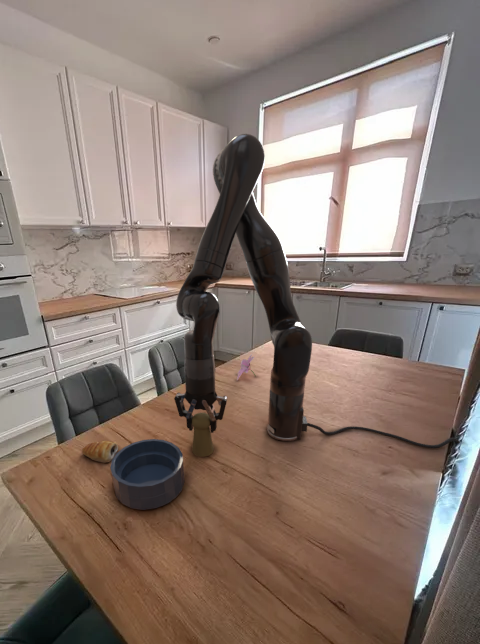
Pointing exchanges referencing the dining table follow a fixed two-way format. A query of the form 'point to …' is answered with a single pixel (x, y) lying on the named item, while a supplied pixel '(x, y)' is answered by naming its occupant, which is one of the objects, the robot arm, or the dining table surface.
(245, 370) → the lily
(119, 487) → the basin
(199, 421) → the olive game pawn
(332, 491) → the dining table surface
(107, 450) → the pastry
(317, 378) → the dining table surface
